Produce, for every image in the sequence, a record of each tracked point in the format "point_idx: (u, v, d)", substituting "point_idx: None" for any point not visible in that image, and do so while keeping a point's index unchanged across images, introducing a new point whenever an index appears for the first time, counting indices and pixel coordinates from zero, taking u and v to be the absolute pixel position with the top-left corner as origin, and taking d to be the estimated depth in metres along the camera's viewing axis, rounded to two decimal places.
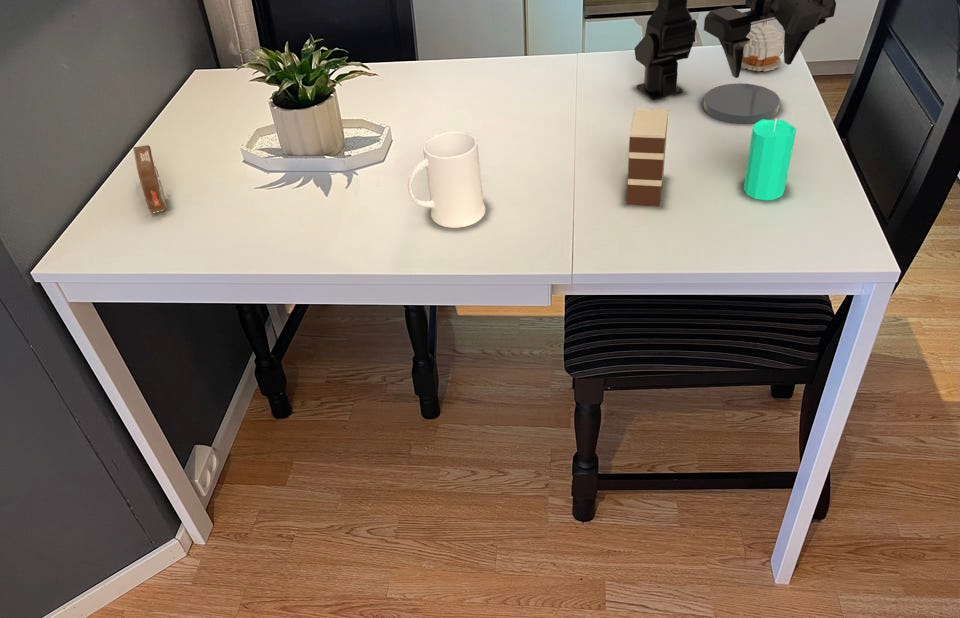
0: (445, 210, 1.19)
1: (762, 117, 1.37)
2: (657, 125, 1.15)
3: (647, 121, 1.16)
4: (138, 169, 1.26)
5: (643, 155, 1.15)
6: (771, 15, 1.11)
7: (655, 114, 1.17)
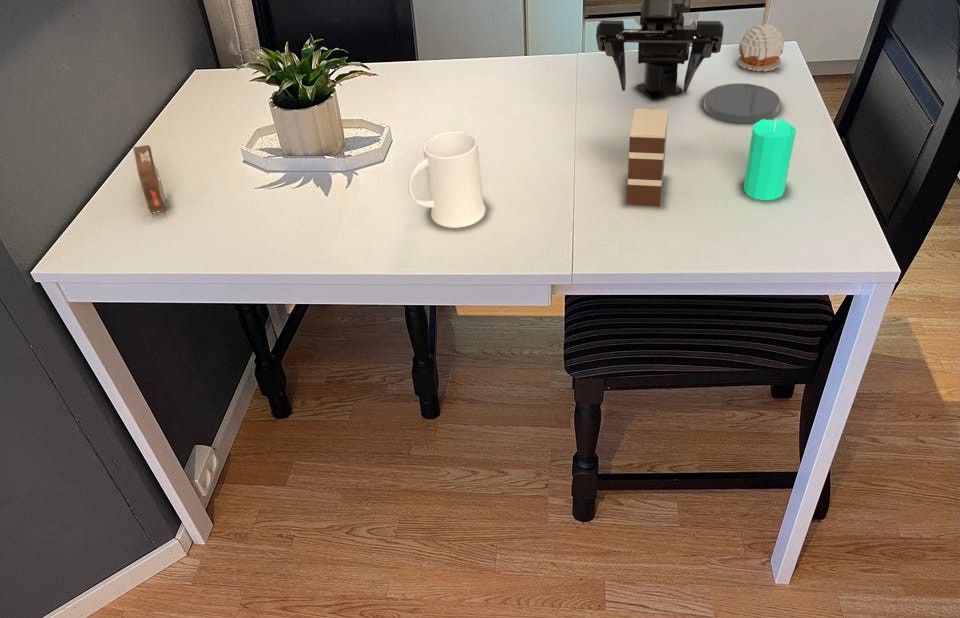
0: (445, 210, 1.19)
1: (762, 117, 1.37)
2: (657, 125, 1.15)
3: (647, 121, 1.16)
4: (138, 169, 1.26)
5: (643, 155, 1.15)
6: (644, 19, 1.19)
7: (655, 114, 1.17)
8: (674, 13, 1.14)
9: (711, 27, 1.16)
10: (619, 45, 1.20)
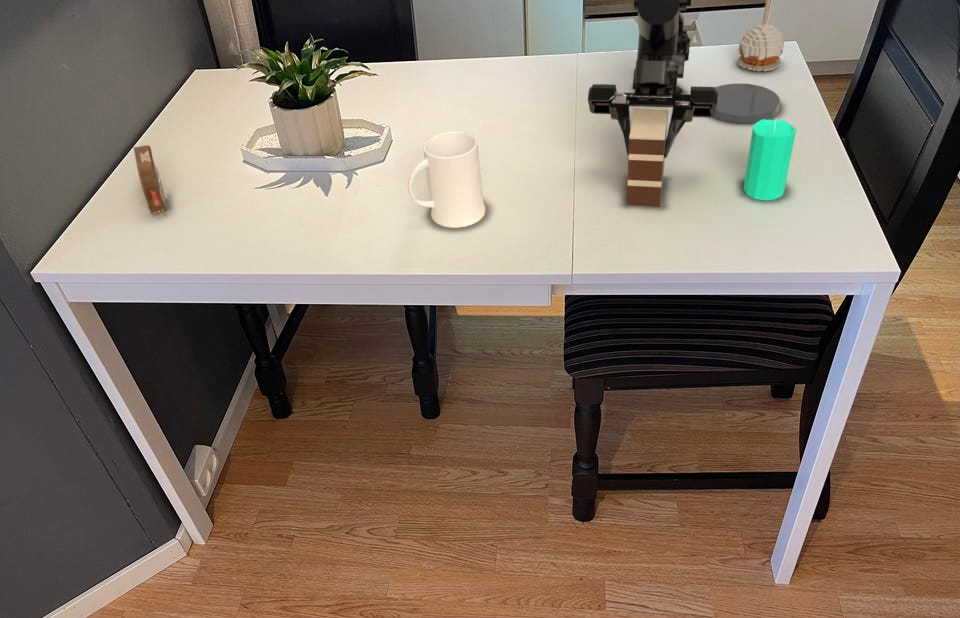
0: (445, 210, 1.19)
1: (762, 117, 1.37)
2: (657, 126, 1.14)
3: (646, 123, 1.15)
4: (138, 169, 1.26)
5: (643, 157, 1.15)
6: (636, 84, 1.16)
7: (655, 115, 1.17)
8: (667, 80, 1.11)
9: (705, 93, 1.14)
10: (624, 110, 1.17)
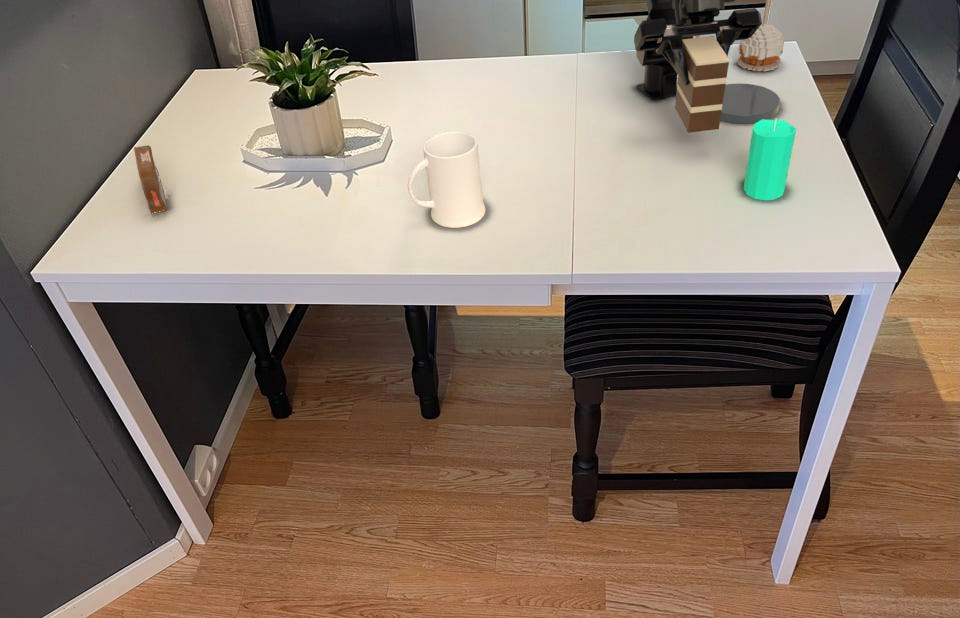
0: (445, 210, 1.19)
1: (762, 117, 1.37)
2: (715, 51, 1.20)
3: (703, 49, 1.21)
4: (139, 169, 1.26)
5: (707, 82, 1.20)
6: (686, 15, 1.21)
7: (705, 42, 1.22)
8: (724, 5, 1.17)
9: (750, 14, 1.21)
10: (678, 41, 1.21)
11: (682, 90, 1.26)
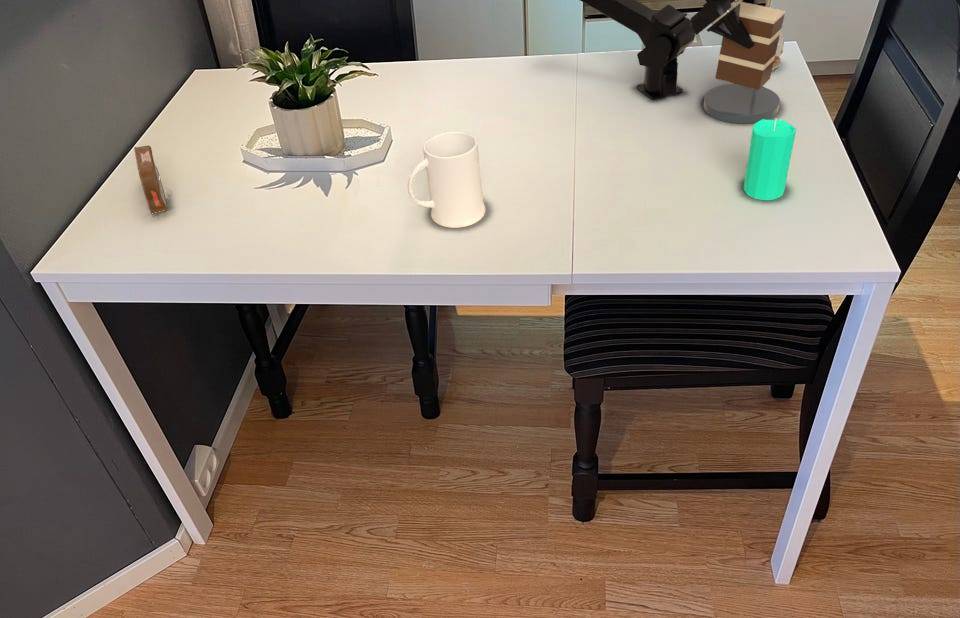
0: (445, 210, 1.19)
1: (762, 117, 1.37)
2: (766, 9, 1.31)
3: (756, 11, 1.30)
4: (139, 169, 1.26)
5: (774, 37, 1.31)
6: None
7: (745, 6, 1.32)
8: None
9: None
10: (738, 11, 1.29)
11: (736, 56, 1.34)
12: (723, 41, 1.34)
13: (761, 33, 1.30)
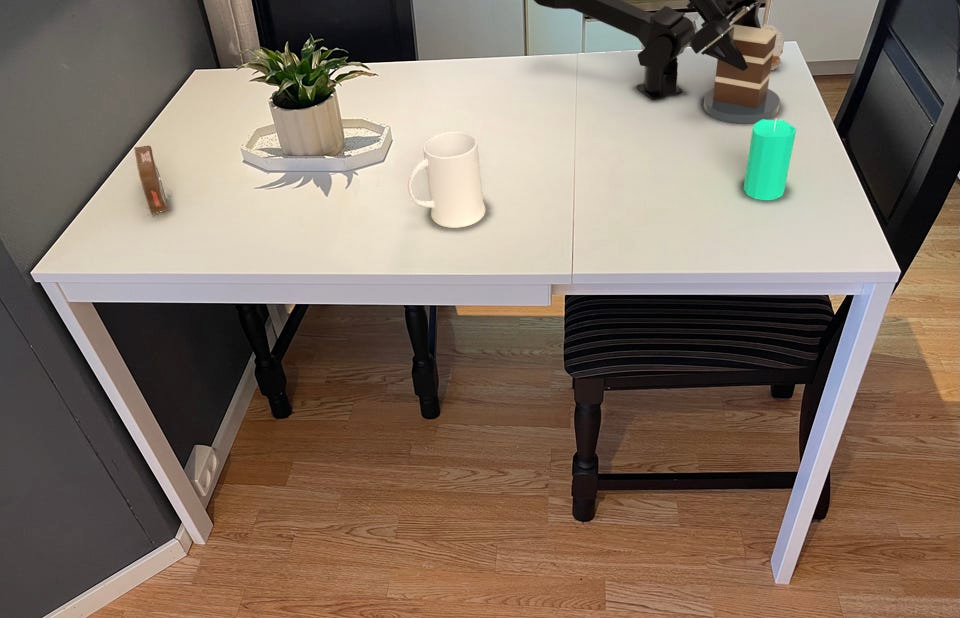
0: (445, 210, 1.19)
1: (762, 117, 1.37)
2: (757, 31, 1.34)
3: (748, 33, 1.34)
4: (139, 169, 1.25)
5: (768, 56, 1.34)
6: (730, 6, 1.31)
7: (737, 29, 1.35)
8: None
9: None
10: (732, 34, 1.30)
11: (732, 77, 1.38)
12: (718, 63, 1.37)
13: (755, 54, 1.33)
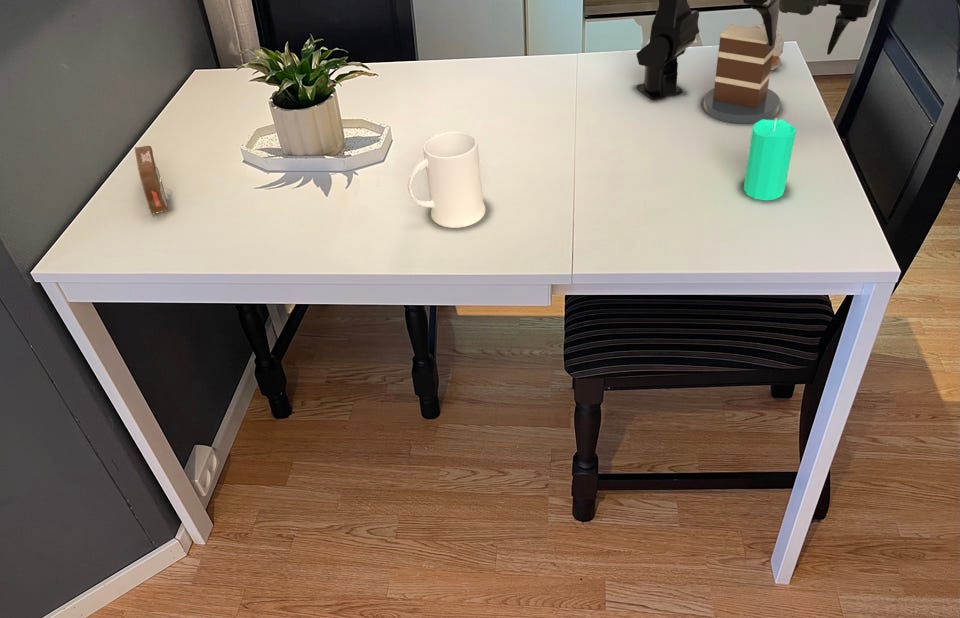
0: (445, 210, 1.19)
1: (762, 117, 1.37)
2: (757, 31, 1.34)
3: (748, 33, 1.34)
4: (139, 170, 1.25)
5: (768, 56, 1.34)
6: None
7: (737, 29, 1.35)
8: (809, 11, 1.17)
9: (855, 7, 1.17)
10: (765, 12, 1.25)
11: (732, 77, 1.38)
12: (718, 63, 1.37)
13: (755, 54, 1.33)
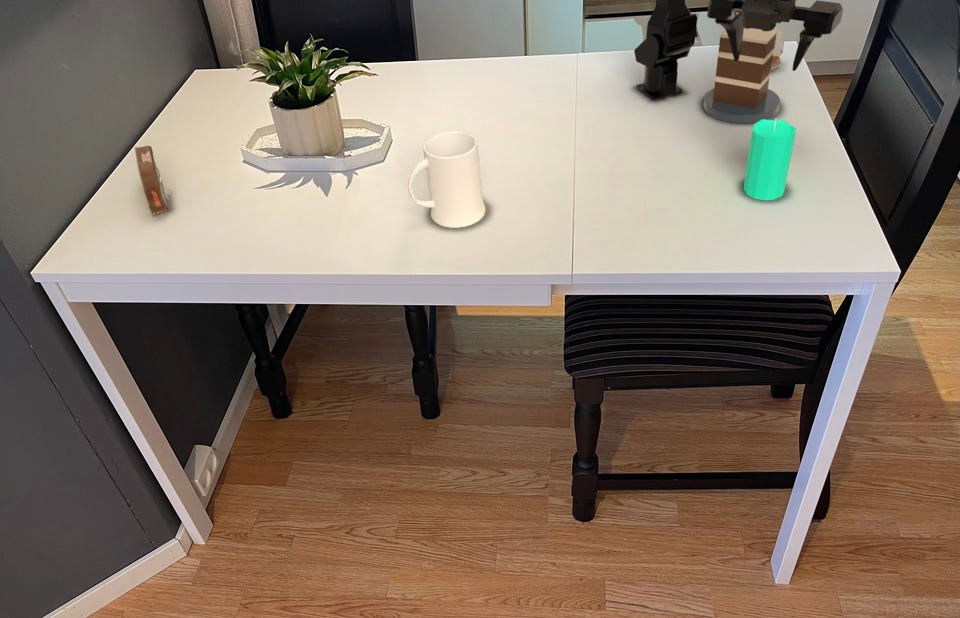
0: (445, 210, 1.19)
1: (762, 117, 1.37)
2: (757, 31, 1.34)
3: (748, 33, 1.34)
4: (139, 170, 1.25)
5: (768, 56, 1.34)
6: None
7: None
8: (771, 27, 1.14)
9: (819, 23, 1.14)
10: (729, 26, 1.22)
11: (732, 77, 1.38)
12: (718, 63, 1.37)
13: (755, 54, 1.33)
